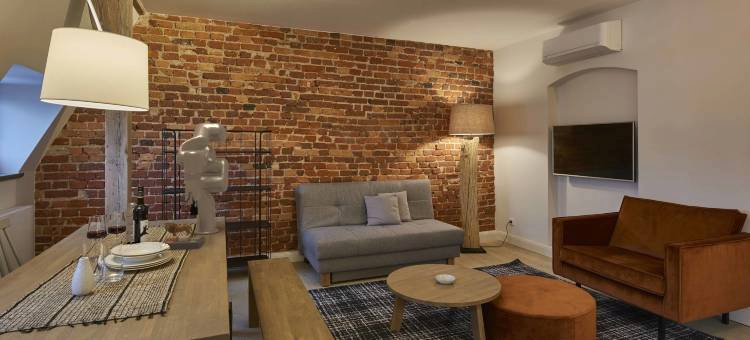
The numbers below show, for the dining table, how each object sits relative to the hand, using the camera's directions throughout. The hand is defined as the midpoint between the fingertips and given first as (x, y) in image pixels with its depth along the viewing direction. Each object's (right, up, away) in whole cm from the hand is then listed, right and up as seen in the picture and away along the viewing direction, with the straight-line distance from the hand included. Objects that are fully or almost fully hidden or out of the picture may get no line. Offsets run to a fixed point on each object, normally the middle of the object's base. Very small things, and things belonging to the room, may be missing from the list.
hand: (194, 214), depth 203 cm
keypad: (-5, -15, -1) cm, 16 cm away
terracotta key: (-10, -13, -1) cm, 16 cm away
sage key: (0, -14, +1) cm, 14 cm away
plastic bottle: (-33, -15, +6) cm, 37 cm away
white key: (-5, -13, 0) cm, 14 cm away
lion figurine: (-15, -14, +17) cm, 27 cm away
